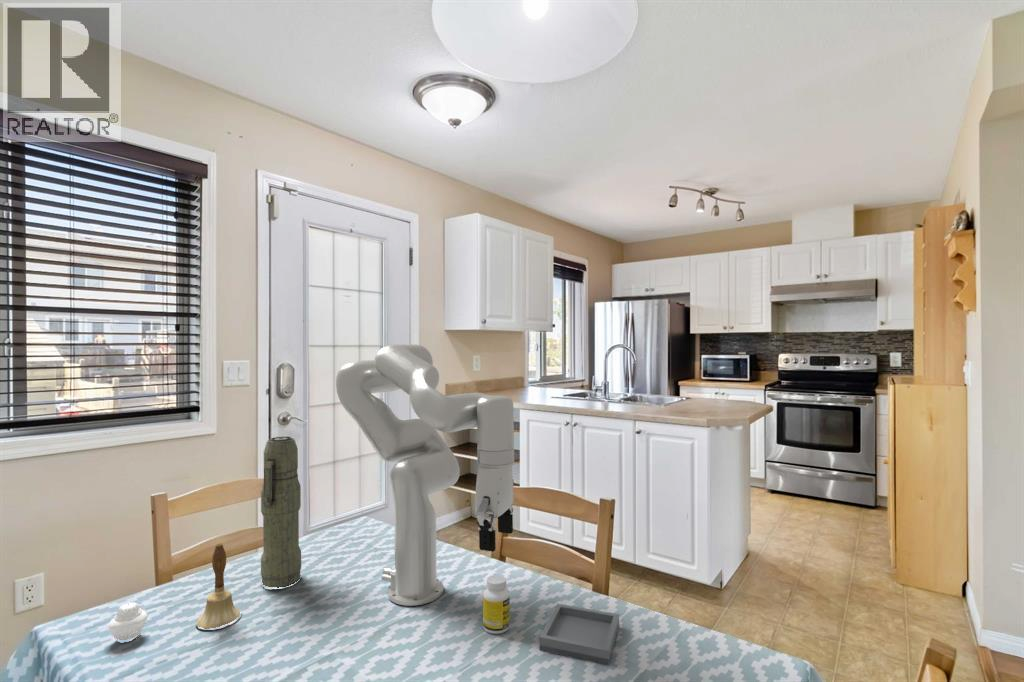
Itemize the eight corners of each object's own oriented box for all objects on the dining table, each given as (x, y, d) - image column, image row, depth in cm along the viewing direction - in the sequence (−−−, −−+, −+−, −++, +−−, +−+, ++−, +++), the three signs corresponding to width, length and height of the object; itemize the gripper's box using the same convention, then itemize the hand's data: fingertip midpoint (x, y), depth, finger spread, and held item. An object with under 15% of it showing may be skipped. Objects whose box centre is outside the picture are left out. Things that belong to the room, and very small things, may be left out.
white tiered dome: (114, 634, 101) (114, 599, 101) (151, 627, 104) (151, 593, 104) (103, 651, 96) (103, 614, 96) (142, 643, 98) (142, 607, 98)
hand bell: (250, 615, 108) (250, 540, 108) (213, 635, 101) (213, 555, 101) (224, 606, 112) (224, 534, 112) (186, 626, 104) (186, 548, 104)
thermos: (309, 570, 129) (308, 433, 130) (289, 593, 118) (288, 442, 118) (274, 570, 129) (274, 434, 130) (251, 593, 118) (250, 443, 118)
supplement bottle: (506, 636, 100) (506, 586, 100) (480, 633, 101) (479, 584, 101) (512, 621, 105) (511, 574, 105) (486, 618, 106) (486, 572, 106)
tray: (539, 650, 95) (539, 636, 95) (557, 615, 107) (557, 603, 107) (608, 664, 91) (608, 650, 91) (619, 626, 103) (619, 614, 103)
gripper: (494, 447, 113) (495, 524, 112) (460, 465, 96) (461, 555, 96) (526, 449, 110) (527, 528, 110) (497, 467, 94) (498, 560, 93)
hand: (496, 541), depth 103 cm, fingers open, 9 cm apart
